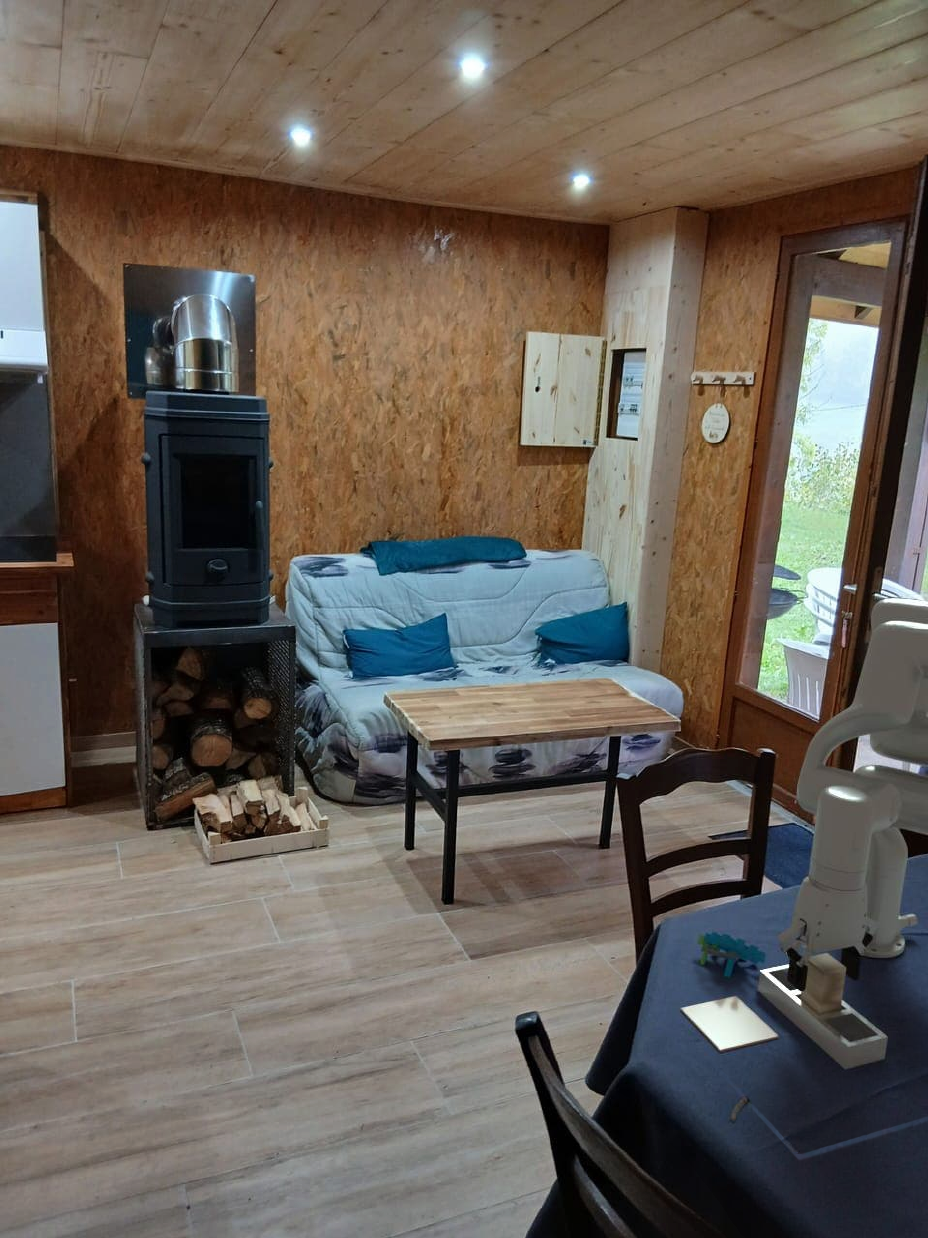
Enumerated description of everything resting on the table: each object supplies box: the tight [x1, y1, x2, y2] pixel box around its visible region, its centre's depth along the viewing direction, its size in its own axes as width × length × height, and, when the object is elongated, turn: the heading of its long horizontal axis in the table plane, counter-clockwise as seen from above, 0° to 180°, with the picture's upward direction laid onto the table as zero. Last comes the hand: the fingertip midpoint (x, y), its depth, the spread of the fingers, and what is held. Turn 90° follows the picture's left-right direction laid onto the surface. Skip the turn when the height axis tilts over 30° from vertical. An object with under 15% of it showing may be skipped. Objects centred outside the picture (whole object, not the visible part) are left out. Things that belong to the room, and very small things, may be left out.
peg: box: [800, 952, 846, 1016], centre depth 139 cm, size 4×4×10 cm
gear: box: [697, 931, 767, 978], centre depth 152 cm, size 11×6×10 cm
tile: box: [680, 995, 779, 1053], centre depth 139 cm, size 10×10×1 cm
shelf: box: [757, 964, 889, 1070], centre depth 139 cm, size 7×19×4 cm, turn 21°
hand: (822, 980), depth 138 cm, fingers open, 9 cm apart
